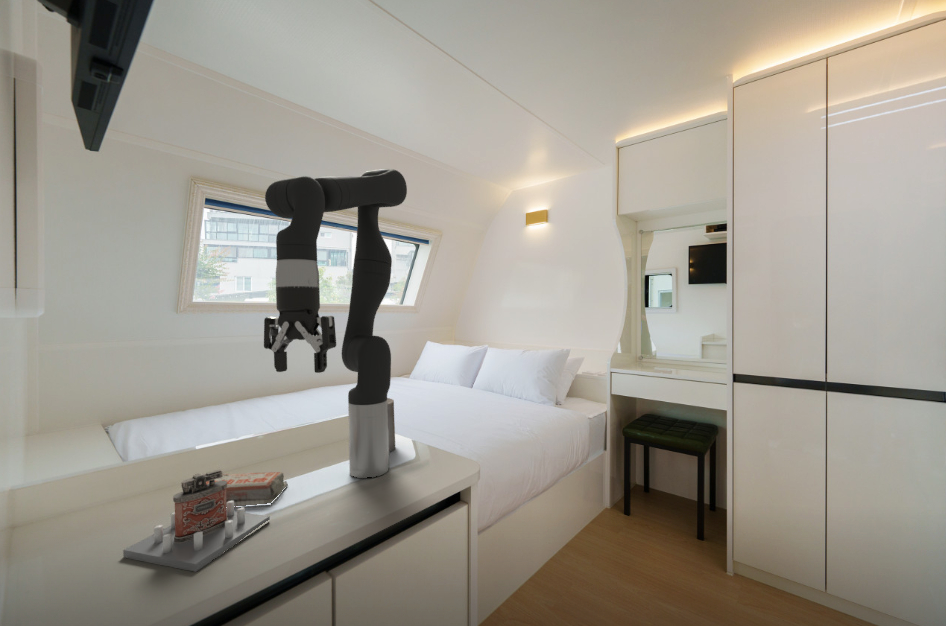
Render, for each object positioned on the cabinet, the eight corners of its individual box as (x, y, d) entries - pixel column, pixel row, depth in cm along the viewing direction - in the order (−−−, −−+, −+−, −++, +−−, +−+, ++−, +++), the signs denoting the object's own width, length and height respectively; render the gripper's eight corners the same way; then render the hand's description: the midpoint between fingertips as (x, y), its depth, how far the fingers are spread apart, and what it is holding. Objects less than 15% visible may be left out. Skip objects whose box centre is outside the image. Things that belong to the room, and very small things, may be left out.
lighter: (177, 545, 68) (176, 484, 68) (171, 538, 70) (170, 479, 70) (231, 525, 74) (230, 469, 74) (223, 519, 76) (222, 465, 76)
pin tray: (206, 513, 81) (206, 494, 81) (269, 522, 77) (269, 502, 77) (123, 557, 67) (123, 534, 67) (195, 571, 63) (195, 547, 63)
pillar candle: (374, 442, 124) (372, 392, 123) (402, 445, 120) (400, 394, 120) (352, 453, 115) (351, 399, 114) (382, 457, 111) (380, 401, 111)
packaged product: (288, 466, 94) (270, 484, 84) (289, 487, 94) (271, 508, 84) (205, 469, 92) (177, 489, 82) (205, 491, 92) (177, 513, 82)
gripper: (342, 285, 79) (345, 369, 79) (280, 287, 83) (283, 368, 83) (317, 283, 72) (320, 376, 72) (251, 286, 76) (254, 374, 76)
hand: (300, 371), depth 78 cm, fingers open, 8 cm apart
